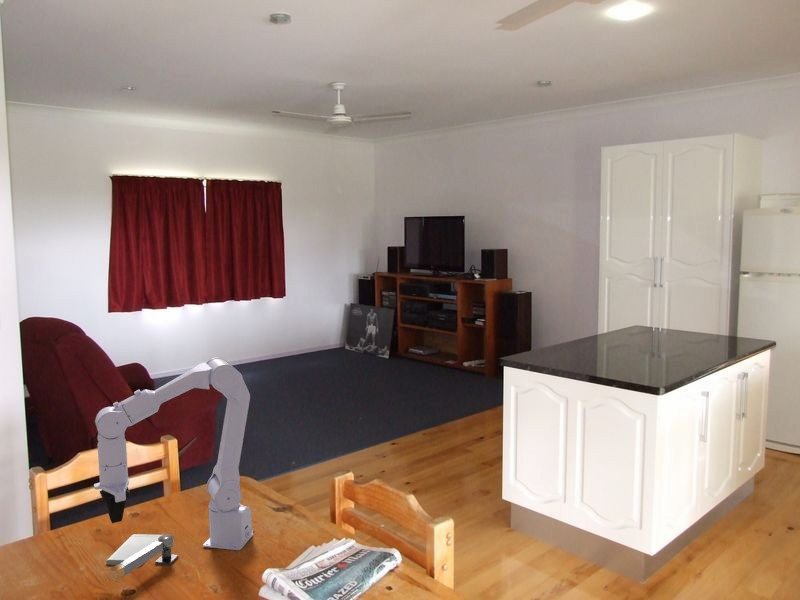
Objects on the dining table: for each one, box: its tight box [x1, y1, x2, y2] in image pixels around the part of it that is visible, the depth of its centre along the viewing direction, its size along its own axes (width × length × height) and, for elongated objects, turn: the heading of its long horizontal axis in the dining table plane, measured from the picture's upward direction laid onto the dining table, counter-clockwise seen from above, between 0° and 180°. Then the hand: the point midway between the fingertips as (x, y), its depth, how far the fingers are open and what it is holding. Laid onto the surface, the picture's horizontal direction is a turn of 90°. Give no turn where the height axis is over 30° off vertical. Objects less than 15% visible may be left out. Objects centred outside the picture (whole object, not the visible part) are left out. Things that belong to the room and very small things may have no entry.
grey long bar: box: [108, 534, 175, 582], centre depth 140 cm, size 17×3×2 cm, turn 157°
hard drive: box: [105, 533, 163, 566], centre depth 151 cm, size 2×8×12 cm
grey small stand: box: [154, 548, 179, 566], centre depth 146 cm, size 4×4×3 cm
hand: (116, 521), depth 143 cm, fingers closed
